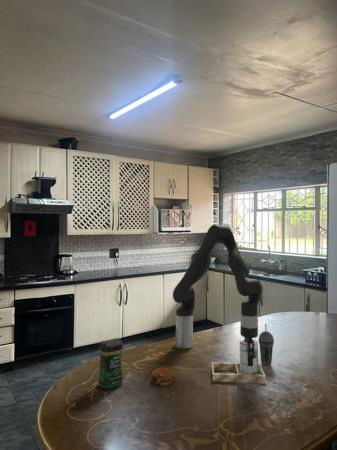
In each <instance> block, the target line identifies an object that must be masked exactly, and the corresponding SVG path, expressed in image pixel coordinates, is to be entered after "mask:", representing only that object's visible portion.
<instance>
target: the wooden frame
mask: <svg viewBox="0 0 337 450" xmlns="http://www.w3.org/2000/svg"><path fill="white" fill-rule="evenodd" d="M218 370H219V371H234V372H235V373H234V374H233V373H215V371H218ZM211 379H212V382H220V383H221V382H223V383H240V384H241V383H245V384H246V383H247V384H266V380H267V379H266V374H265V372H264V369H263V366H262V364H261V363H258V374H257V375H242V374H240V362H218V361H217V362H214V361H213V362H211Z"/></svg>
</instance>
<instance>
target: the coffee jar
mask: <svg viewBox="0 0 337 450" xmlns="http://www.w3.org/2000/svg"><path fill="white" fill-rule="evenodd" d="M123 347H124V346H123V341H122V340H121V339H120V338H118V337H117V338H113V339H108V340H101V341H100V342H99V347H98V352H99V356H100V358H99V359H100V361H99V362H100V363H99V372H98V373H99V374H98V380H97V381H98V386H99V387H100V388H101V389H105V390H109V389H114V388H117V387H120V386H122V384H123V382H124V381H123V380H124V379H123V370H122V369H123V367H122V366H123V365H122V353H123V350H124V348H123Z"/></svg>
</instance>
